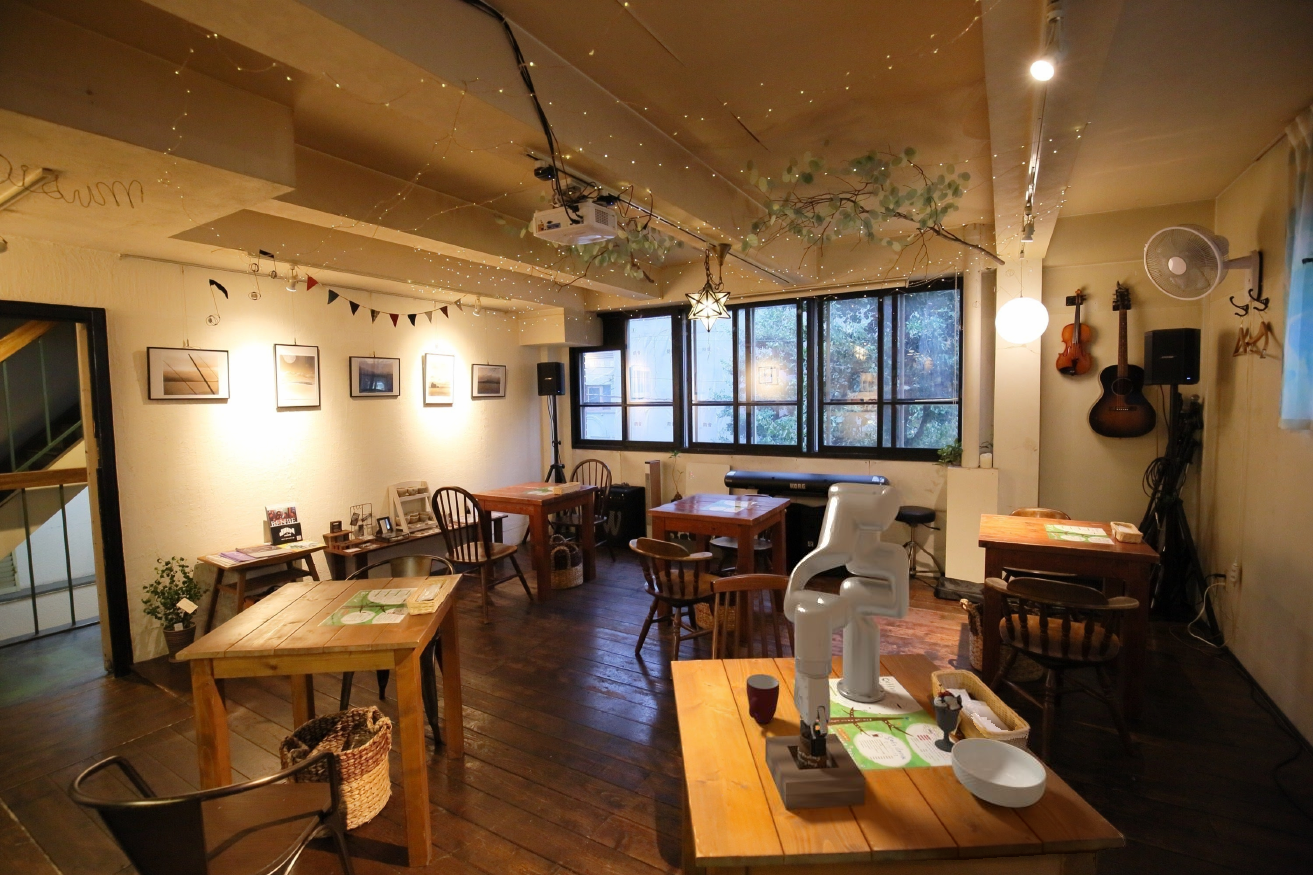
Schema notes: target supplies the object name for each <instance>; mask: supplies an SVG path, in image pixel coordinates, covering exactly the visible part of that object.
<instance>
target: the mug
mask: <svg viewBox="0 0 1313 875" xmlns="http://www.w3.org/2000/svg"><path fill="white" fill-rule="evenodd" d="M746 695H747V696H746V697H747V702H748V714H749V716H750V717H751V718H752V719H754V721H755V722H756V723H757V724H762V725H766V724H767V725H768V724H769V723H771V721H772V720H773V718H774V716H775V715H776V712H777V706H778V702H779V701H778V700H779V696H780V681H779V680H778V679H777V677H775V676H773V675H771V674H769V675H768V674H763V673H757V674H752V675H751V676H748V677H747V678H746Z"/></svg>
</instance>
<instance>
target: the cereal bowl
mask: <svg viewBox="0 0 1313 875" xmlns="http://www.w3.org/2000/svg"><path fill="white" fill-rule="evenodd" d="M950 754H951V755H950V756H951V758H950V759H951V760H950V761H951V765H952V767H951V768H952V769H953V772H954V775H955V776H956V778H957V779H958V781H959V782H960V783H961V785H962V786H964V788H965V789H967V791H969V792H971V793H972V794H973V795H975V796H977V798H980V799H982V800H984V801H986V802H988V803H991V804H993V805H998V806H1000V807H1005V808H1008V807H1009V808H1026V807H1028V806H1031V805H1034V804H1035V803H1036V802H1038V801H1039V800H1040V799H1041V798H1042V796H1043V795H1044V793H1045V791H1046V787H1047V786H1046V784H1047V777H1048V776H1047V772H1046V771H1047V770H1046V769H1045V767H1044V766H1043V765H1042V763H1041V762H1040V761H1039V760H1038V759H1037V758H1035V757H1034V756H1033V755H1031V754H1030V753H1028V752H1026V751H1024V750H1023V749H1021V748H1019V747H1017V746H1015V745H1011V744H1009V743H1006V742H1003V741H999V740H995V739H991V738H984V737H983V738H981V737H972V738H971V737H970V738H965V739H961V740H959V741H957V742H956V743H955V745H954V746H953V748H952V752H950Z"/></svg>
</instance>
